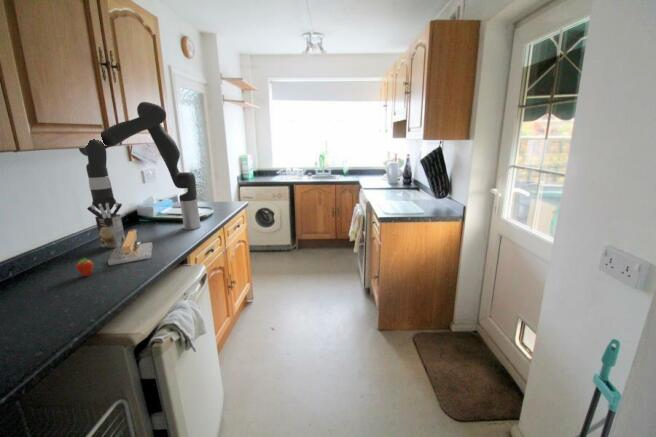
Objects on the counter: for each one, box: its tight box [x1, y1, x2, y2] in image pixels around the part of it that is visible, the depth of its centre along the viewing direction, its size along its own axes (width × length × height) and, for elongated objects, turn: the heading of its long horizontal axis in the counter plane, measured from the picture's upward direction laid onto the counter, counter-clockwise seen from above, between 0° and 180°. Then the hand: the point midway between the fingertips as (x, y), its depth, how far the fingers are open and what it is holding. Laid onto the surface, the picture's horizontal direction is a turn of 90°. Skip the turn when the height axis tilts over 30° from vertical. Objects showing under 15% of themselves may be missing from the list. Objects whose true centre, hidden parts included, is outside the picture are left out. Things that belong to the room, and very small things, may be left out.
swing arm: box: [121, 228, 139, 253], centre depth 146 cm, size 28×4×3 cm, turn 26°
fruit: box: [76, 257, 94, 277], centre depth 124 cm, size 5×5×8 cm
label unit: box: [107, 242, 154, 266], centre depth 145 cm, size 18×16×2 cm
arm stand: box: [134, 237, 142, 245], centre depth 158 cm, size 5×5×4 cm
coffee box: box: [94, 213, 126, 248], centre depth 157 cm, size 9×6×16 cm
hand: (109, 225), depth 137 cm, fingers closed
